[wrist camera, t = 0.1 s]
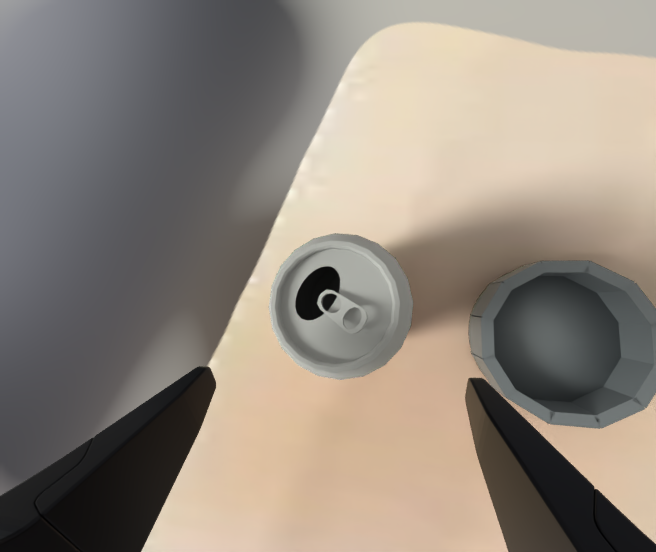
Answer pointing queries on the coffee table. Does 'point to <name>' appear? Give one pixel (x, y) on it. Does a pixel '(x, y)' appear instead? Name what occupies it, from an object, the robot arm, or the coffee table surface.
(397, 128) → the coffee table surface
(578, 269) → the ring holder
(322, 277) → the can
